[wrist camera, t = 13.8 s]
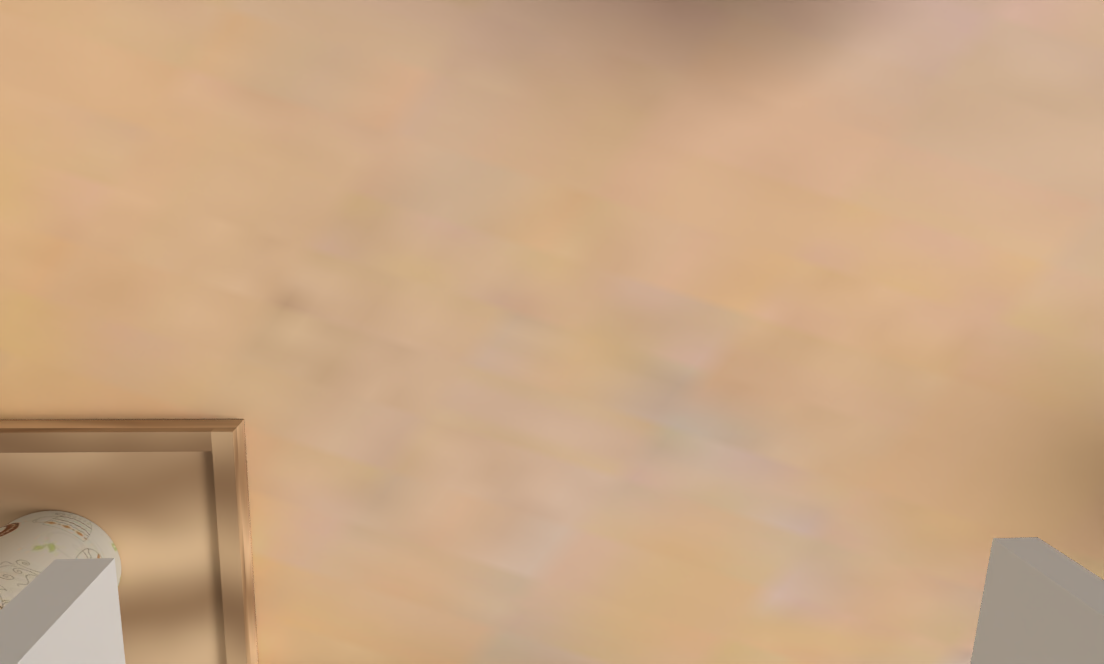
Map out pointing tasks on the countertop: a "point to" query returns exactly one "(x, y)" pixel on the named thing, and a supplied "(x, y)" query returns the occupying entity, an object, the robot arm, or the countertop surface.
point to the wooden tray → (152, 523)
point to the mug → (47, 547)
